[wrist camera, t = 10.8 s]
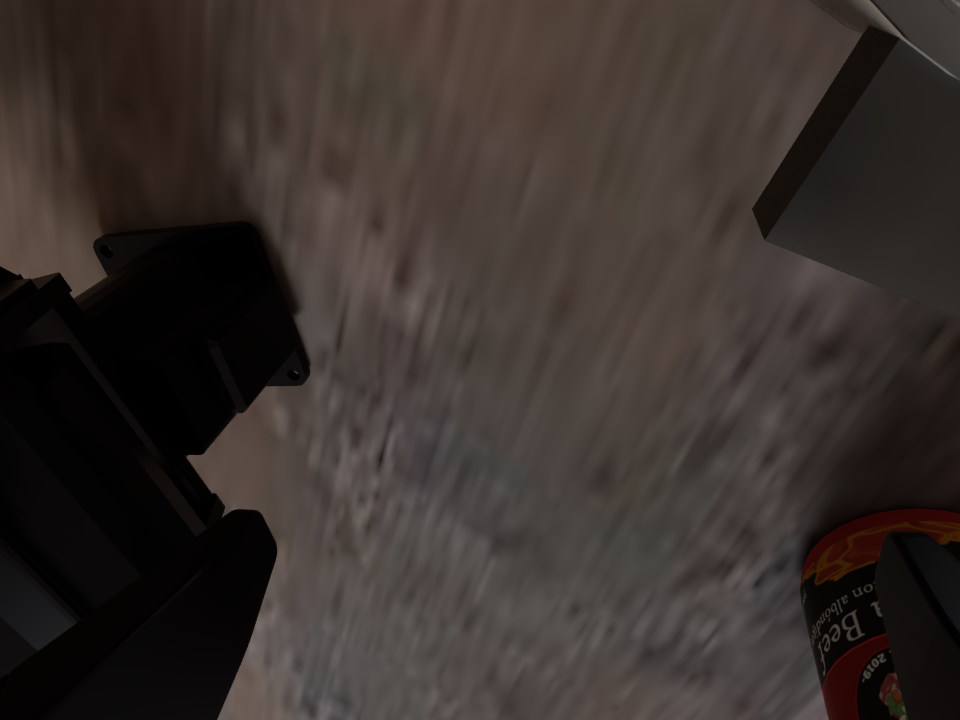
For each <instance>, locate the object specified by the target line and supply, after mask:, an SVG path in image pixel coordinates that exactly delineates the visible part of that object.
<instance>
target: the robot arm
mask: <svg viewBox="0 0 960 720" xmlns="http://www.w3.org/2000/svg"><path fill="white" fill-rule="evenodd" d="M239 233H241V234H242V235H244V236H245V238H246V240H247V242H245V241H243V240H242V239H241V238H240V236H239ZM108 247H109V248H110V249H111V250H112V251H111V250H110V249H109V248H108ZM93 248H94V251H95V253H96V255H97V257H98V259H99V261H100V263H101V264H102V266H103V268H104V270H105V272H106V274H107V276H108V277H106V278H105V279H103V280H101V281H100V282H98V283H97V284H95V285H94V286H92V287H91V288H89V289H88V290H86V291H85V292H83V293H82V294H80V295H78V296H77V297H75V298H74V299H73V297H72V296H71V295H70V292H71V291H72V289H71V288H70V287H69V285H68V284H67V282H66V281H65V280H64V278H63V277H62V275H61V274H60V273H59V272H58V273H54V274H50V275H46V276H43V277H39V278H35V279H30V278H29V279H24V278H23V277H22V276H21V274H19V275H16V274H14V273H12V272H10V271H8V270H6V269H4V268H2V267H0V720H217V719H218V716H219V714H220V712H221V709H222V707H223V705H224V702H225V700H226V698H227V695H228V693H229V691H230V688H231V686H232V684H233V681H234V679H235V677H236V674H237V672H238V670H239V667H240V665H241V662H242V660H243V657H244V655H245V652H246V650H247V647H248V644H249V642H250V639H251V636H252V633H253V630H254V627H255V624H256V621H257V617H258V614H259V611H260V608H261V605H262V602H263V599H264V595H265V592H266V589H267V586H268V583H269V580H270V577H271V574H272V570H273V567H274V564H275V561H276V557H277V545H276V542H275V539H274V537H273V535H272V533H271V531H270V529H269V527H268V525H267V523H266V521H265V519H264V517H263V516H262V514H261V513H260V512H259V511H257V510H245V509H237V510H233V511H231V512H229V513H228V514H227V515H225V516H224V517H222V516H223V513H224V510H225V506H224V504H223V503H222V501H221V500H220V499H219V497H218V496H217V494H215V493H211V491H210V490H209V488H208V487H207V486H206V484H205V483H204V481H203V480H202V479H201V477H200V476H199V474H198V473H197V472H196V470H195V469H194V467H193V466H192V465H191V463H190V462H189V460H188V459H187V458H186V457H187V456H188V455H201V454H204V453H205V451H206V450H207V449H208V448H209V447H210V445H211V444H212V443H213V442H214V441H215V439H216V438H217V437H218V436H219V435H220V433H221V432H222V431H223V430H224V429H225V427H226V426H227V425H228V424H229V423H230V421H231V420H232V419H233V418H234V417H235V415H236V414H237V413H244V412H245V411H246V410H247V409H248V408H249V406H250V405H251V404H252V403H253V401H254V400H255V399H256V398H257V397H258V395H259V394H260V393H261V392H262V390H263V389H264V388H265V387H266V386H299V385H302V384H303V383H305V381H306V380H307V379H308V377H309V375H310V368H309V366H308V363H307V361H306V358H305V355H304V353H303V350H302V347H301V345H300V339H299V336H298V334H297V331H296V328H295V326H294V323H293V320H292V318H291V315H290V313H289V310H288V307H287V305H286V302H285V299H284V297H283V294H282V291H281V289H280V286H279V284H278V283H277V281H276V279H275V276H274V273H273V271H272V268H271V265H270V263H269V260H268V257H267V255H266V252H265V249H264V247H263V244H262V242H261V239H260V236H259V234H258V232H257V230H256V229H255V228H254V227H253V226H252V225H251V224H249V223H247V222H244V221H236V222H226V223H216V224H205V225H195V226H185V227H174V228H164V229H154V230H143V231H133V232H123V233H112V234H106V235H103V236H102V237H100V238H98V239H96V240H95V242H94V244H93ZM293 370H295V371H296V372H298V374H296V373H295V372H294V371H293ZM875 586H876V592H877V597H878V601H879V605H880V609H881V613H882V617H883V621H884V626H885V630H886V634H887V638H888V642H889V646H890V651H891V655H892V659H893V663H894V667H895V671H896V676H897V680H898V684H899V688H900V692H901V696H902V700H903V704H904V707H905V711H906V714H907V717H908V720H960V561H959V560H958V559H957V558H955V557H954V556H953V555H952V554H951V553H950V552H948V551H947V550H946V549H945V548H944V547H943V546H942V545H940V544H939V543H938V542H937V541H936V540H935V539H933V538H932V537H931V536H929V535H928V534H926V533H923V532H917V531H890V532H888V533H887V534H886V535H885V538H884V541H883V544H882V548H881V552H880V556H879V560H878V564H877V568H876V572H875Z"/></svg>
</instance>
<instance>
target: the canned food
mask: <svg viewBox="0 0 960 720" xmlns="http://www.w3.org/2000/svg"><path fill="white" fill-rule="evenodd" d="M890 531H917V532H923V533H926V534H928V535H929V536H931V537H932V538H933V539H935V540H936V541H937V542H938V543H939V544H940V545H942V546H943V547H944V548H945V549H946V550H947V551H948V552H950V553H951V554H952V555H953V556H954V557H955V558H957V559H958V560H959V561H960V514H958V513H954V512H950V511H945V510H934V509H923V508H920V509H897V510H891V511H885V512H879V513H874V514H871V515H868V516H864V517H861V518H858V519H855V520H853V521H850V522H848V523H846V524H844V525H842V526H840V527H838V528H836V529H835V530H833V531H832V532H830V533H829V534H827V535H826V536H824V537H823V538H822V539H821V540H820V541H819V542H818V543H817V544H816V545H815V546H814V547H813V548H812V550H811V552H810V553H809V555H808V557H807V558H806V560H805V564H804V568H803V572H802V579H801V587H800V593H801V603H802V607H803V612H804V616H805V620H806V624H807V629H808V633H809V637H810V641H811V646H812V650H813V654H814V659H815V663H816V667H817V671H818V676H819V680H820V684H821V689H822V693H823V697H824V701H825V706H826V710H827V714H828V718H829V720H908V717H907V714H906V711H905V707H904V704H903V700H902V696H901V692H900V688H899V684H898V680H897V676H896V671H895V667H894V663H893V659H892V655H891V651H890V646H889V642H888V638H887V634H886V630H885V626H884V621H883V617H882V613H881V609H880V605H879V601H878V597H877V592H876V586H875V572H876V568H877V564H878V560H879V556H880V552H881V548H882V544H883V541H884V538H885V535H886V534H887V533H888V532H890Z"/></svg>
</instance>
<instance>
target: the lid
mask: <svg viewBox="0 0 960 720" xmlns="http://www.w3.org/2000/svg"><path fill="white" fill-rule="evenodd" d="M937 1H938V2H939V3H941V4H942V5H943V6H944V7H945V8H946V9H948V10H949V11H950V12H951V13H952V14H954V15H955V16H956V17H957V18H958V19H959V20H960V0H937Z"/></svg>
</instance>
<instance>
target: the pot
mask: <svg viewBox="0 0 960 720" xmlns="http://www.w3.org/2000/svg"><path fill="white" fill-rule="evenodd" d="M810 1H811V2H813V3H814V4H815V5H817V6H818V7H819V8H821V9H822V10H823V11H825V12H826V13H827V14H829V15H830V16H831V17H833V18H834V19H836V20H837V21H838V22H840V23H841V24H842V25H844V26H846V27H848V28H850V29H852V30H854V31H856V32H858V33H860V34H862V36H861V38H860V40H859V41H858V43H857V44H856V46H855V48H854V49H853V51H852V52H851V54H850V55H849V57H848V59H847V60H846V62H845V63H844V65H843V66H842V68H841V70H840V71H839V73H838V74H837V76H836V77H835V79H834V81H833V82H832V84H831V85H830V87H829V89H828V90H827V92H826V93H825V95H824V96H823V98H822V100H821V101H820V103H819V104H818V106H817V107H816V109H815V111H814V112H813V114H812V115H811V117H810V118H809V120H808V122H807V123H806V125H805V126H804V128H803V129H802V131H801V133H800V134H799V136H798V137H797V139H796V141H795V142H794V144H793V145H792V147H791V148H790V150H789V152H788V153H787V155H786V156H785V158H784V159H783V161H782V163H781V164H780V166H779V167H778V169H777V170H776V172H775V174H774V175H773V177H772V178H771V180H770V182H769V183H768V185H767V186H766V188H765V189H764V191H763V193H762V194H761V196H760V197H759V199H758V200H757V202H756V204H755V205H754V207H753V208H752V210H753V213H754V215H755V218H756V220H757V223H758V225H759V228H760V230H761V233H762V235H763V238H764V240H765V241H767V242H770V243H772V244H775V245H777V246H780V247H782V248H785V249H787V250H790V251H792V252H795V253H797V254H800V255H802V256H805V257H807V258H810V259H812V260H815V261H817V262H820V263H822V264H825V265H827V266H830V267H832V268H835V269H837V270H840V271H842V272H844V273H847V274H849V275H852V276H854V277H857V278H859V279H862V280H864V281H867V282H869V283H872V284H874V285H877V286H879V287H882V288H884V289H887V290H889V291H892V292H894V293H897V294H899V295H902V296H904V297H907V298H909V299H912V300H914V301H916V302H919V303H921V304H924V305H926V306H929V307H931V308H934V309H936V310H939V311H941V312H944V313H946V314H949V315H951V316H954V317H956V318H959V319H960V20H959V19H958V18H957V17H956V16H955V15H954V14H952V13H951V12H950V11H949V10H948V9H946V8H945V7H944V6H943V5H942V4H941V3H939V2H938V1H937V0H810Z"/></svg>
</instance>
